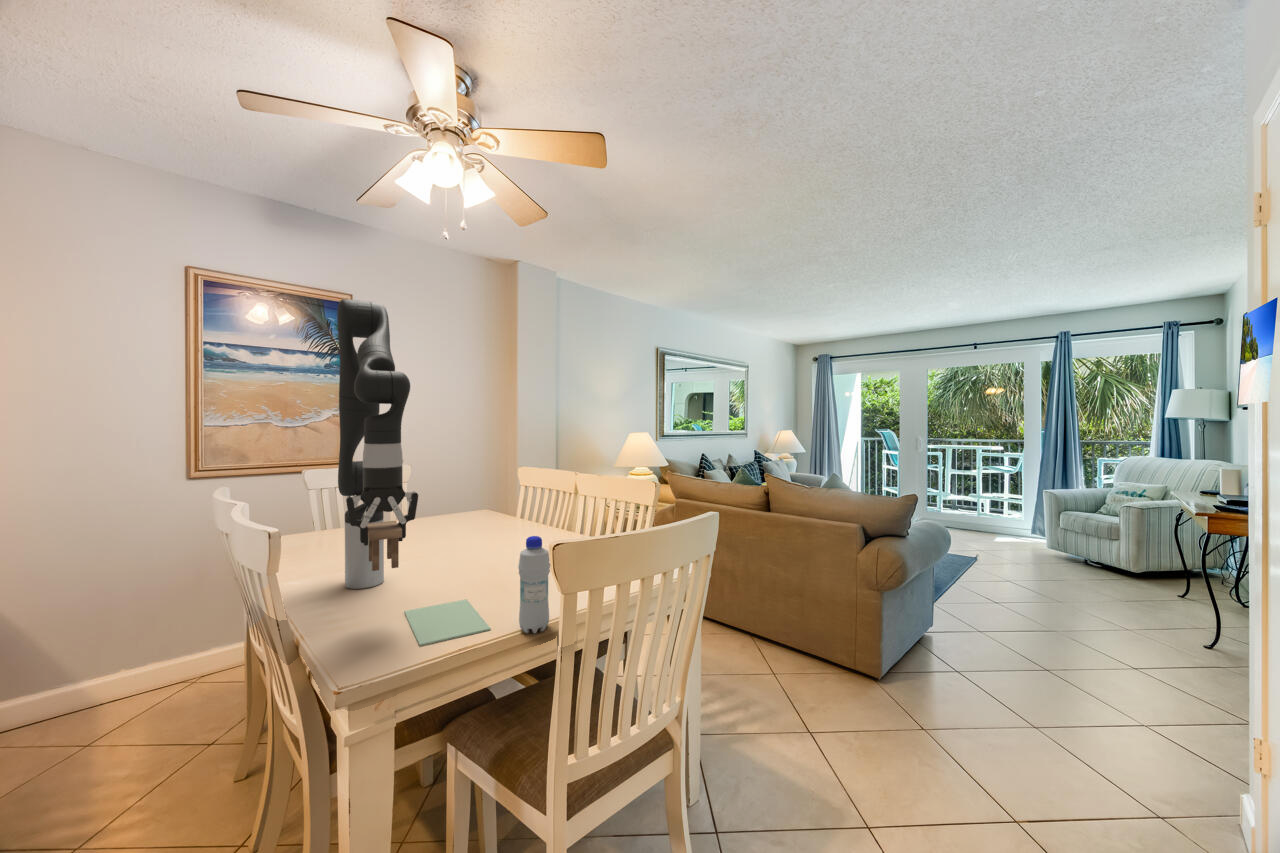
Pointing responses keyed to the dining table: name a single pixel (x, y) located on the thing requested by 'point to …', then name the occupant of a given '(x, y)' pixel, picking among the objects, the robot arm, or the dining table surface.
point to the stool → (392, 535)
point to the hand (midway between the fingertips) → (383, 542)
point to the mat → (445, 622)
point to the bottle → (534, 586)
